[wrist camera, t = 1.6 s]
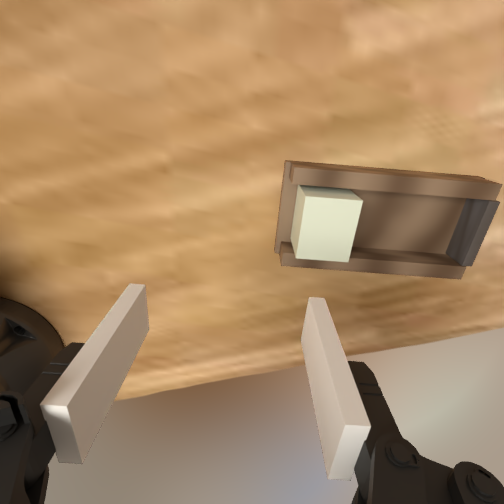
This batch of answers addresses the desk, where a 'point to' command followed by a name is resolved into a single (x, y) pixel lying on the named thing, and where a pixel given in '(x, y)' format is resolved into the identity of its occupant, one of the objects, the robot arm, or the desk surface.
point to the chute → (397, 218)
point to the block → (324, 223)
